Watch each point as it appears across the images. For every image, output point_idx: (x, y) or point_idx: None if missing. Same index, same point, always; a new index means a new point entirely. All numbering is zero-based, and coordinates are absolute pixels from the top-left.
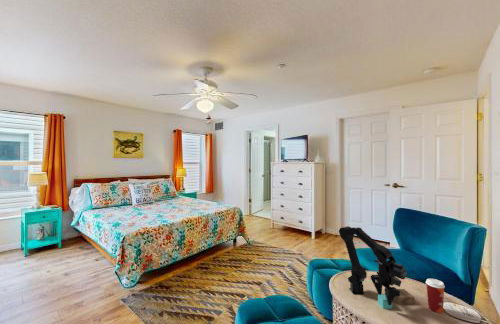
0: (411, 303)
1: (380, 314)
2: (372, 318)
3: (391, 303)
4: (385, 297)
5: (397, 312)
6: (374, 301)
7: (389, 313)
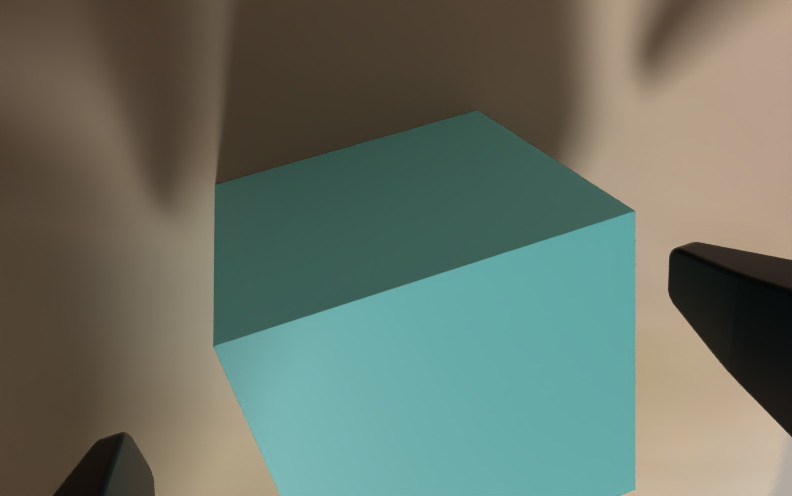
0: None
1: (682, 384)
2: (757, 485)
3: (768, 259)
4: (501, 416)
5: (637, 26)
6: (224, 453)
7: (664, 229)
